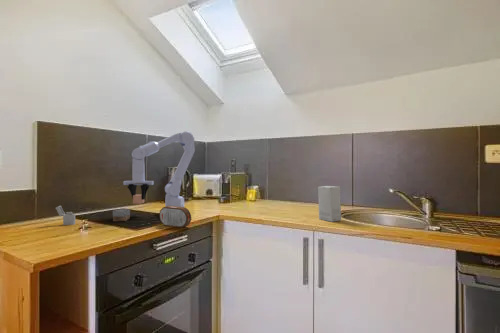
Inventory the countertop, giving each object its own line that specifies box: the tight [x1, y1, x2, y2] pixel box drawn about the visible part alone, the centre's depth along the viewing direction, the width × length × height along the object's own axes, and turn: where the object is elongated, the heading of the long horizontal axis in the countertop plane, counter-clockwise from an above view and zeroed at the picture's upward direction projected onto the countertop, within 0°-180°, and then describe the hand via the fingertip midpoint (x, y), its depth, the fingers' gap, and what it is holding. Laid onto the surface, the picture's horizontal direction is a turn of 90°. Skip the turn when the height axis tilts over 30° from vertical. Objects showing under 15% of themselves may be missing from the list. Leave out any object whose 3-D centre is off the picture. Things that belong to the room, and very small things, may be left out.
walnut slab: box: [112, 214, 131, 222], centre depth 126 cm, size 6×6×2 cm
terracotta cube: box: [132, 194, 145, 205], centre depth 136 cm, size 4×4×4 cm
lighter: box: [55, 205, 76, 226], centre depth 117 cm, size 7×2×8 cm, turn 98°
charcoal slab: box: [112, 208, 131, 217], centre depth 126 cm, size 5×5×2 cm
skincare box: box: [317, 185, 342, 223], centre depth 126 cm, size 8×7×16 cm
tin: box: [159, 206, 192, 229], centre depth 113 cm, size 15×3×8 cm, turn 65°
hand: (138, 199), depth 136 cm, fingers closed on terracotta cube, 4 cm apart
